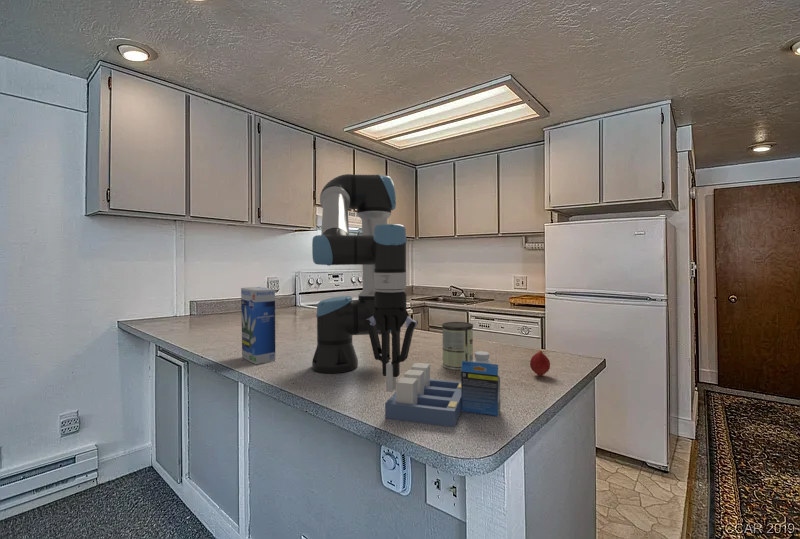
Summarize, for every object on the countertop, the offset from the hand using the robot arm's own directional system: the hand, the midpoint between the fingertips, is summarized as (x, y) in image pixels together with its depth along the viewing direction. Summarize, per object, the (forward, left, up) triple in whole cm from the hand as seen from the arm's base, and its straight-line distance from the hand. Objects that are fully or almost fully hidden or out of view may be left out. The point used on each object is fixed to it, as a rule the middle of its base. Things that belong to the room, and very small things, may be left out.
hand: (391, 389), depth 93 cm
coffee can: (+9, +44, -6) cm, 45 cm away
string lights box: (-61, +32, -6) cm, 69 cm away
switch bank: (+8, +7, -6) cm, 12 cm away
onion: (+35, +40, -6) cm, 53 cm away
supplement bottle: (+19, +25, -6) cm, 31 cm away
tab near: (+4, 0, -4) cm, 5 cm away
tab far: (+4, +13, -4) cm, 14 cm away
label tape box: (+20, +7, -6) cm, 22 cm away
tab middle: (+4, +7, -4) cm, 9 cm away
